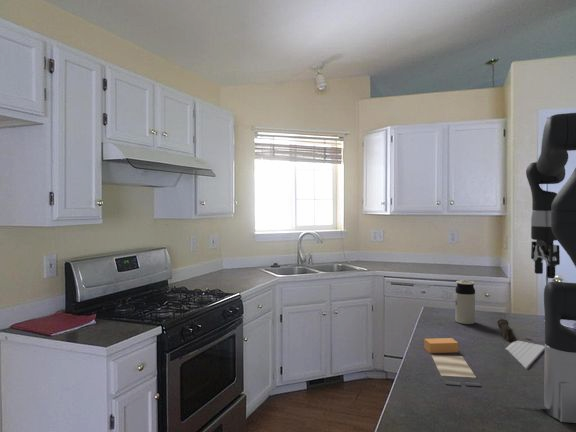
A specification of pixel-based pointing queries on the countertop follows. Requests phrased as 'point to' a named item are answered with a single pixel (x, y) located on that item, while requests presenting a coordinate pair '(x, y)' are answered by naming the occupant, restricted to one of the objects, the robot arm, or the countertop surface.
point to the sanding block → (441, 345)
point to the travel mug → (465, 302)
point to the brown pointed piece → (505, 329)
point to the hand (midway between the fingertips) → (544, 275)
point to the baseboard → (525, 351)
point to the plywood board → (452, 366)
